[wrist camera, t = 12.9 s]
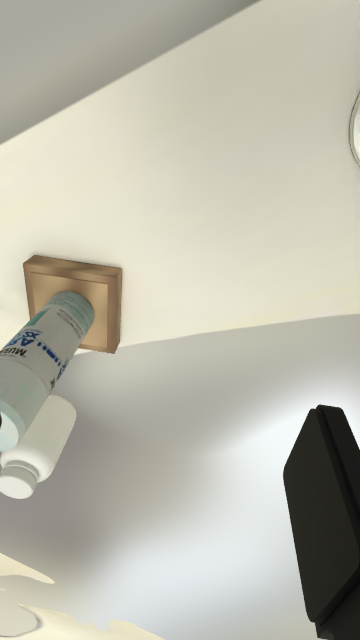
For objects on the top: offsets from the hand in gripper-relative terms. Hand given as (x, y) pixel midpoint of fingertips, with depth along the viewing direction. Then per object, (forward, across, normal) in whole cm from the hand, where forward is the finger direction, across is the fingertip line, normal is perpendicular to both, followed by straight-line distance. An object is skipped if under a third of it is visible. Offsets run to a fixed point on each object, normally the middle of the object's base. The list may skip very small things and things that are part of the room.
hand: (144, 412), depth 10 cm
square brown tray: (+34, +15, +17) cm, 41 cm away
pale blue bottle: (+31, +15, +17) cm, 39 cm away
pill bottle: (+34, +20, +40) cm, 56 cm away
